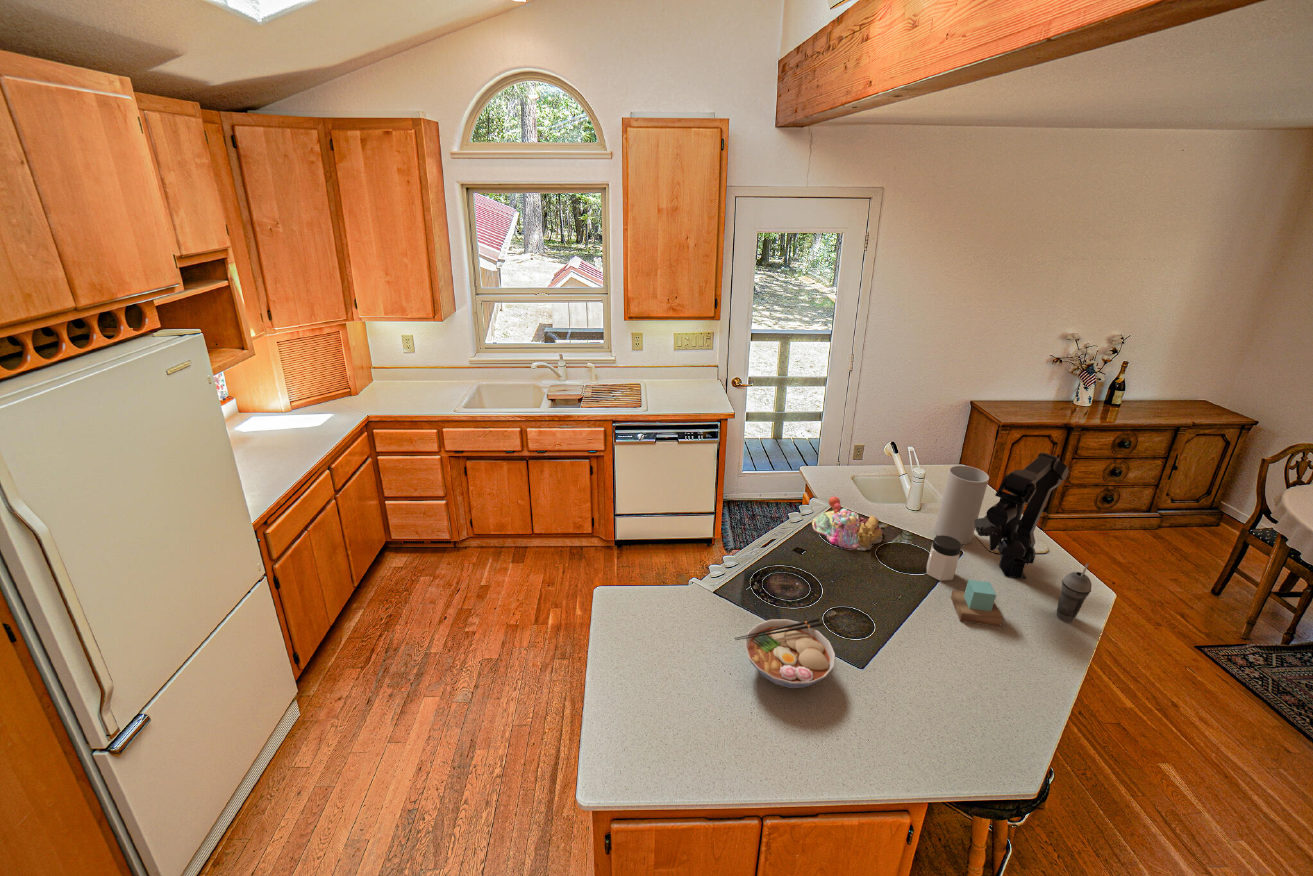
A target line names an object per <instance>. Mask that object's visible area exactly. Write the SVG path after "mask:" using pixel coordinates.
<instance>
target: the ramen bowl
mask: <svg viewBox="0 0 1313 876" xmlns="http://www.w3.org/2000/svg"><path fill="white" fill-rule="evenodd" d="M823 625H824V624H823V622H820V618H817V617H816V618H814V619H809V620H806V621H801V622H800V621H795V620H792V619H787V618H783V619H781V618H780V619H779V618H778V619H768V620H766V621H762V622H760V623H757V624H755V625H754V627H752V628H751V629H750V630H749V631H748V632H747V634H745V635H742V636H738V637H734V640H735V641H739V640H744V646H745V647H744V648H745V651H746V655H747V658H748V660H749V662H750V663H751V664H752V666H753V667H754V668H755V669H756V670H757V671H758V673H759V674H760V675H761V676H762V677H764V678H766V679H767V680H768V681H770V682H772V683H774V684H775V685H778V686H782V687H786V688H790V689H793V688H798V689H799V688H806V687H809V686H811V685H814V684H816V683H818V682H820V681H822V680H823V679H825V677H827V676H828V674H829V673H830V671H832V670H833V668H834V667H835V663H836V662H835V661H836V653H835V650H834V648H833V646H832V643H831V642H830V640H828V638H826V637H825V636H824V635H823V634H822V633H821V632H820V631H819V630H818V629H815V628H817V627H823Z"/></svg>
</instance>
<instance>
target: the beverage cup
mask: <svg viewBox="0 0 1313 876" xmlns="http://www.w3.org/2000/svg"><path fill="white" fill-rule="evenodd" d="M1089 565H1090V563H1088V562H1087V563H1086V564H1085V566H1084V569H1083V571H1082V572H1081V571H1072V572H1069V573H1067V574H1065V576H1064V577H1063V579H1062V580H1061V590H1060V596H1059V599H1058V604H1057V606H1056V607H1057V608H1056V613H1055V617H1056V618H1057V619H1059V620H1060V621H1062V622H1065V623H1073V622H1074V620H1075V619H1076V618H1077V616H1078V614H1079V612H1080V610H1081V608H1082V606H1083V604H1084V602H1085V600H1086V599H1087V597H1088V596H1089V594H1090V593H1091V592H1092V587H1093V586H1092V584H1093V583H1092V581H1091V579H1090V577H1089V576H1088V575H1087V574H1085V573H1086V571H1087V568H1088V567H1089Z"/></svg>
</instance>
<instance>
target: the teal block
mask: <svg viewBox="0 0 1313 876" xmlns="http://www.w3.org/2000/svg"><path fill="white" fill-rule="evenodd" d="M964 591H965V593H964V598H965V600H966V602H967V605H968V607H969V609H975V610H983V611H991V610H992V607H993V604H994V601H995V600H996V597H997V594H996V592H995V589H994V588H993V586H992V584H991V582H990V581H985V580H984V581H982V580H975V579H968V580H967V584H966V587H965V590H964Z"/></svg>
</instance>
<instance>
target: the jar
mask: <svg viewBox="0 0 1313 876" xmlns="http://www.w3.org/2000/svg"><path fill="white" fill-rule="evenodd" d="M961 549H962V544H961V543H960V542H959V541H958V540H956V539H954V538H952V537H949V536H944V535H940V536H937V535H936V536H934V538H933V541H932V543H931V547H930V551H929V555H928V559H927V562H926V574H927V575H928V576H930V577H931V578H933V579H935V580H937V581H940V582H944V581H952V580H954V577H955V573H956V569H957V566H958V563H959V559H960V552H961Z"/></svg>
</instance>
